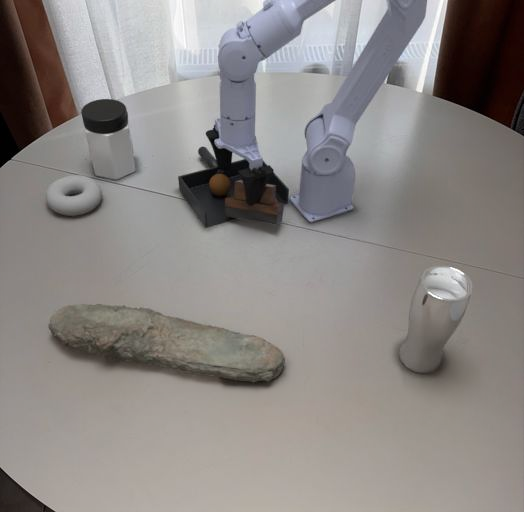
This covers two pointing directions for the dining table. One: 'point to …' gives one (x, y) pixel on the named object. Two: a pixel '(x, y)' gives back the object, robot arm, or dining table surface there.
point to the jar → (109, 138)
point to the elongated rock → (166, 342)
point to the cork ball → (219, 184)
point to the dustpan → (212, 205)
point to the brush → (254, 206)
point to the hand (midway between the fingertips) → (238, 185)
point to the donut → (73, 204)
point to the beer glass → (434, 316)
